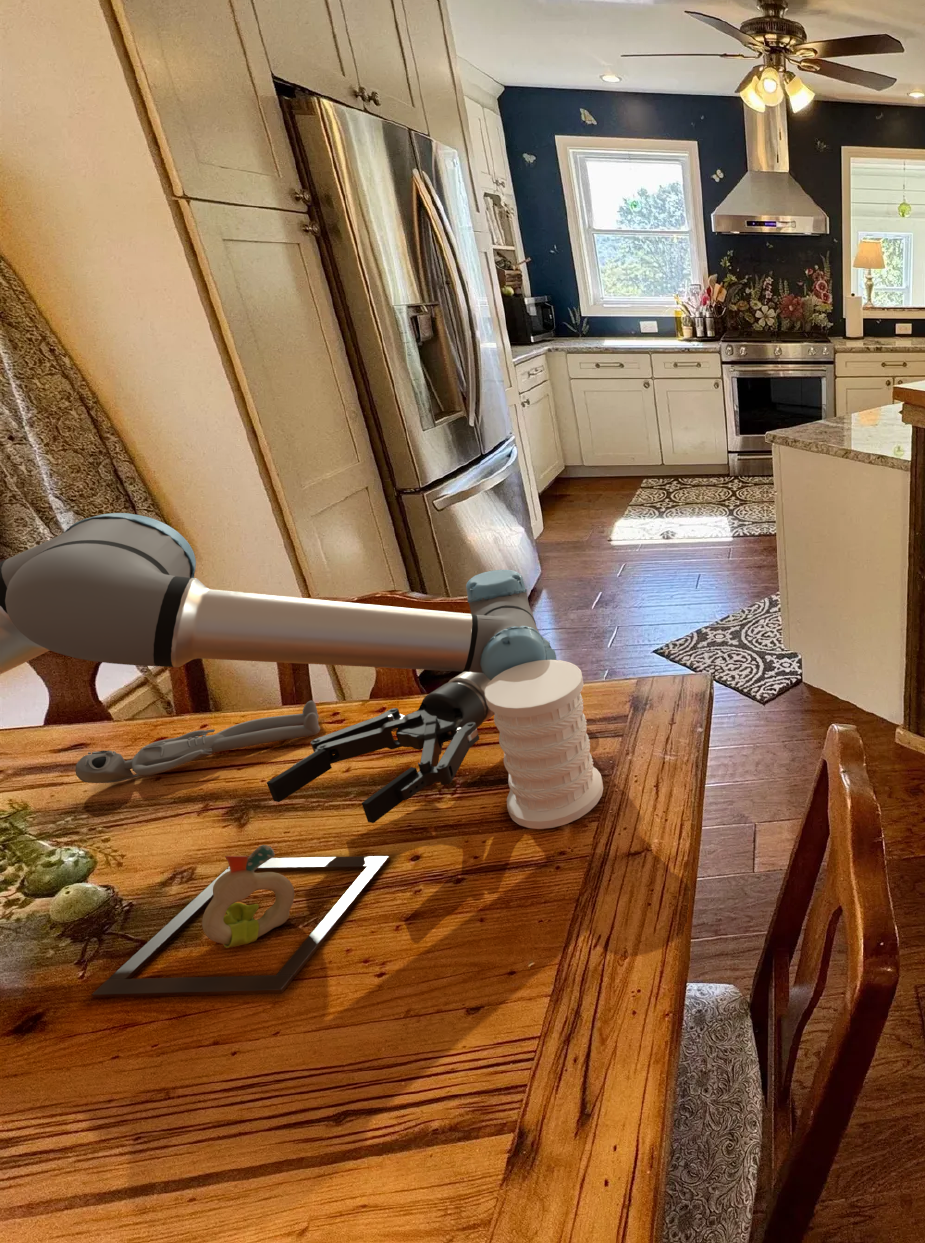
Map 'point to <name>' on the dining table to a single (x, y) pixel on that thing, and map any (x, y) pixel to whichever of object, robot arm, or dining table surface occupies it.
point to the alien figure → (196, 747)
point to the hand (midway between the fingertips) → (318, 802)
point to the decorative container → (544, 743)
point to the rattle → (235, 918)
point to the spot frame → (128, 987)
